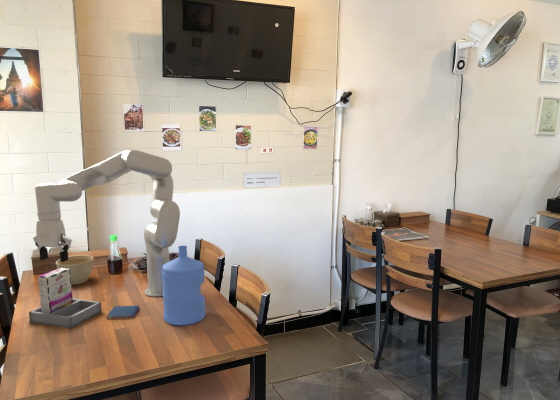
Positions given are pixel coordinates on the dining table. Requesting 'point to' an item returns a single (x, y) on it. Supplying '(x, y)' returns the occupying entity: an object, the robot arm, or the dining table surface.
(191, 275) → the water jug
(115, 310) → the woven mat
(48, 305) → the candy bar box
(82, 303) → the tray
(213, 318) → the dining table surface
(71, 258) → the planter bowl
